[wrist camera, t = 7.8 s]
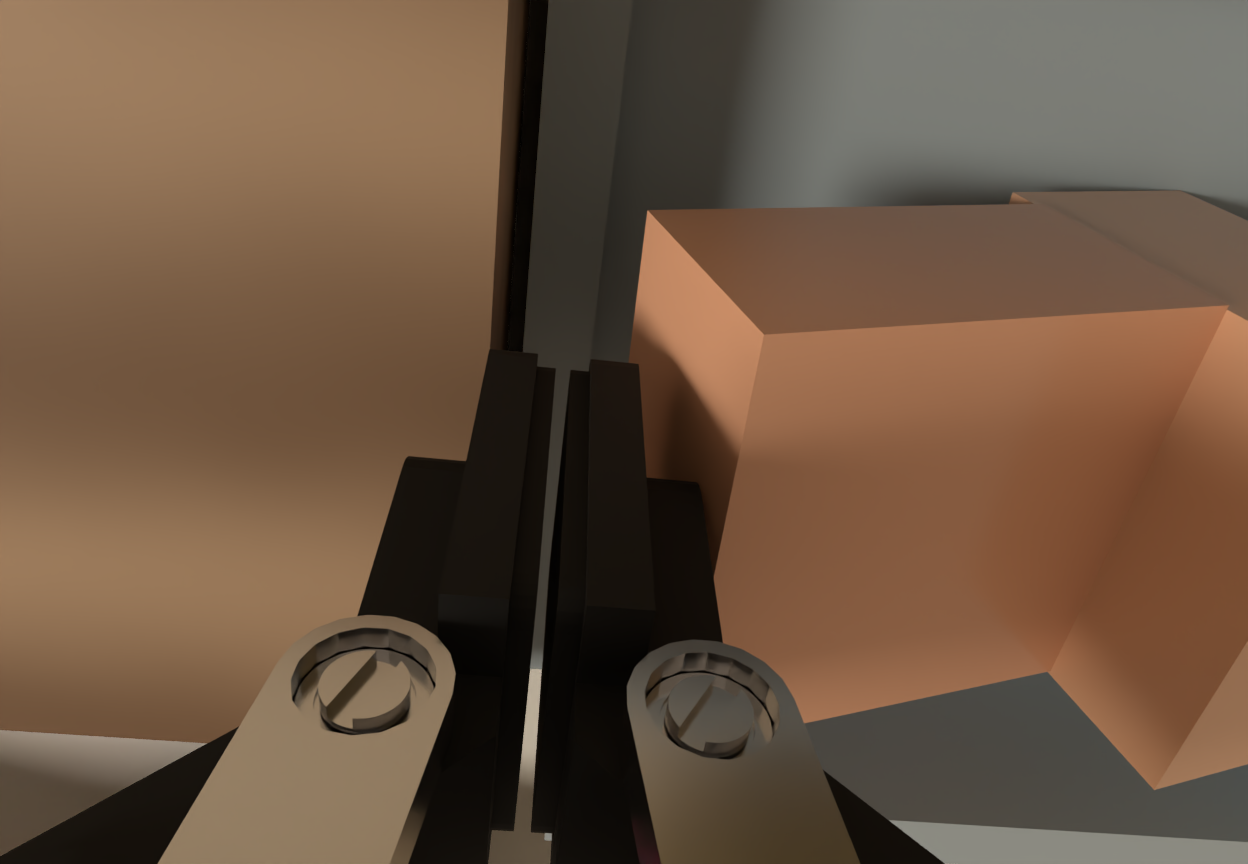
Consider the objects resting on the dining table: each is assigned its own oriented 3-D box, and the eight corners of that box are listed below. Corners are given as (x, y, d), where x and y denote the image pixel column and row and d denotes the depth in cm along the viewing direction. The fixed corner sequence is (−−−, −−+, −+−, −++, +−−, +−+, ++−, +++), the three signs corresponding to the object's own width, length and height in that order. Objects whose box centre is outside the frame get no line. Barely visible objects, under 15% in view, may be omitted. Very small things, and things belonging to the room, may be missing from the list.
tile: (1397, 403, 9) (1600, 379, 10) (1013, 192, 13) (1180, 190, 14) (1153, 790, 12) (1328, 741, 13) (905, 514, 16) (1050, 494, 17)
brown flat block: (-531, -368, 11) (-1043, -448, 7) (543, -211, 12) (520, -220, 8) (-164, 537, 18) (-342, 707, 14) (492, 588, 19) (468, 759, 15)
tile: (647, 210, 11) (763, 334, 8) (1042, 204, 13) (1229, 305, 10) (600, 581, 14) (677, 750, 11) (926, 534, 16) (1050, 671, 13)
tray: (571, -258, 12) (553, -296, 7) (1640, -98, 13) (2154, -51, 8) (506, 609, 19) (479, 836, 15) (1179, 661, 20) (1332, 885, 16)
